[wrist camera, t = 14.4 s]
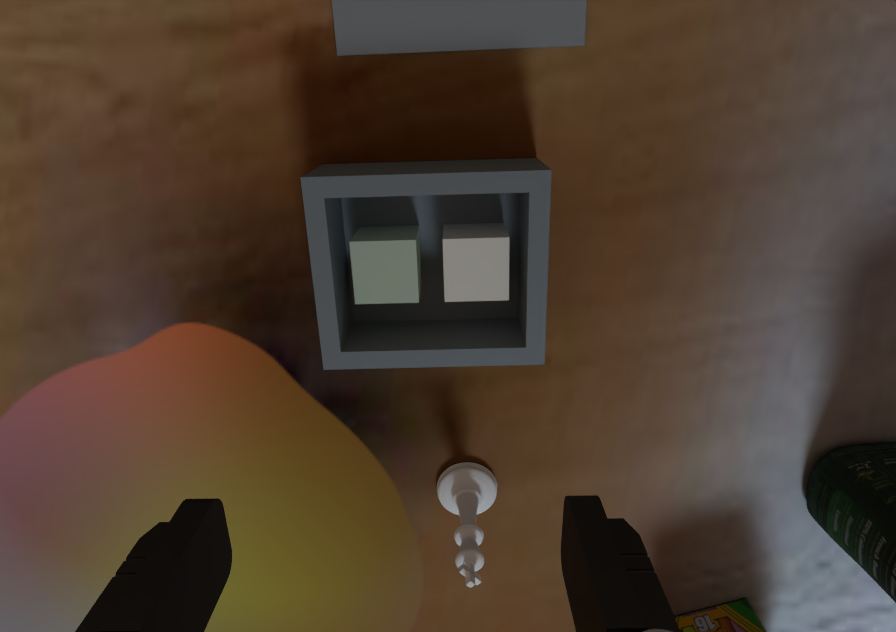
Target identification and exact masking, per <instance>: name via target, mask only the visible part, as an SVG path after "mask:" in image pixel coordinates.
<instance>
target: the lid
mask: <svg viewBox="0 0 896 632" xmlns="http://www.w3.org/2000/svg"><path fill="white" fill-rule="evenodd" d="M586 3H587V0H332V9H333V19H334V29H335V39H336V49H337V56H351V55H374V54H398V53H422V52H445V51H469V50H493V49H517V48H540V47H564V46H584V45H585V26H586Z"/></svg>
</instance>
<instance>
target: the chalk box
mask: <svg viewBox="0 0 896 632" xmlns="http://www.w3.org/2000/svg"><path fill="white" fill-rule="evenodd" d="M675 620H676V622H677V624H678V627H679V629H680V631H681V632H766V631H765V629H764V627H763V626H762V624H761V622H760V620H759V619H758V617H757V615H756V613H755V612H754V610H753V608H752V606H751V604H750V603H749V601H748V599H747V598H745V599H742V600H738V601H734V602H731V603H726V604H723V605H719V606H716V607H712V608H708V609H704V610H700V611H697V612H693V613H689V614H685V615H681V616H677V617H675Z"/></svg>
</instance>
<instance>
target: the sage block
mask: <svg viewBox="0 0 896 632" xmlns="http://www.w3.org/2000/svg"><path fill="white" fill-rule="evenodd" d="M349 245H350V256H351V266H352V277H353V288H354V298H355V304H385V303H419V299H420V293H421V286H422V271H421V251H420V230H419V225H407V226H371V227H359V228H358V229H357V231H356V232H355V234H354V235H353V237H352V238H351V240H350V241H349Z"/></svg>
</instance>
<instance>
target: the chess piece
mask: <svg viewBox="0 0 896 632" xmlns="http://www.w3.org/2000/svg"><path fill="white" fill-rule="evenodd" d="M437 493H438V498H439V500H440V502H441V504H442V505H443V506H444V507H445V508H446V509H447V510H448V511H450V512H452V513H454V514H457V515H459V516H460V521H461V526H460V527H458V528H457V529H456V531H455V533H454V538H455V541H456V543H457V544H458V545H459V546H460V548H459V551H458V552H457V555H456V558H455V563H456V565H457V567H458V568H459V572H460V573H461V574H462V575H464V576H465V577H466V585H467V586H468V587H470V588H471V587H473V586H474V585H478V584H480V583H481V577H480V576H479V575H478V574H477V573H475V571H478V570H479V569H481V568H482V566H483V564H484V556H483V554H482V552H481V550H480V549H479V545H480V544H481V542H482V540H483V536H484V535H483V531H482V530H481V529H480V528H479V527H478V526H476V515H477V514H480V513H482V512H484V511H486V510H487V509H488V508H489V507H490V506H491V505H492V504H493V502H494V501H495V498H496V494H497V482H496V479H495V477H494V475H493V474H492V472H491V471H490V470H488V469H487V468H486V467H484V466H482V465H480V464H477V463H472V462H463V463H458V464H455V465H452V466H450V467H449V468H447V469H446V470H445V471H444V472H443V473H442V474H441V475H440V477H439V479H438V482H437Z"/></svg>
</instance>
